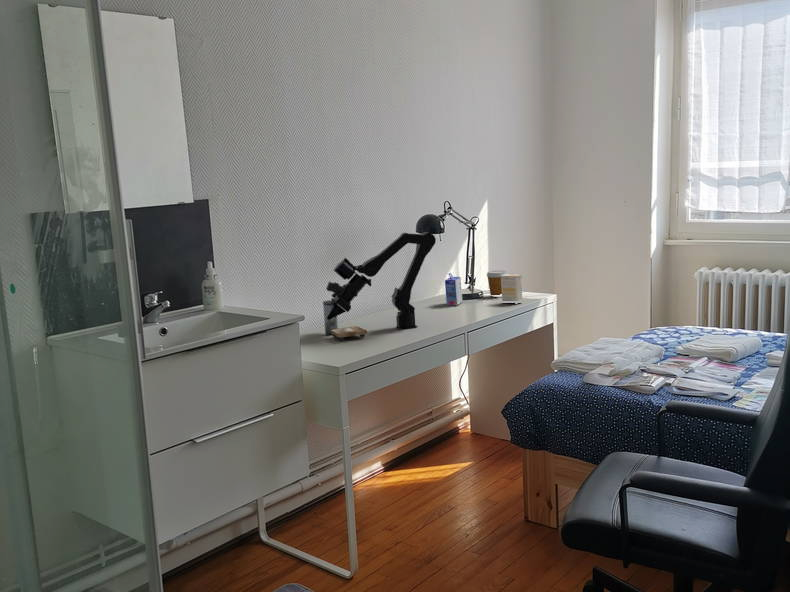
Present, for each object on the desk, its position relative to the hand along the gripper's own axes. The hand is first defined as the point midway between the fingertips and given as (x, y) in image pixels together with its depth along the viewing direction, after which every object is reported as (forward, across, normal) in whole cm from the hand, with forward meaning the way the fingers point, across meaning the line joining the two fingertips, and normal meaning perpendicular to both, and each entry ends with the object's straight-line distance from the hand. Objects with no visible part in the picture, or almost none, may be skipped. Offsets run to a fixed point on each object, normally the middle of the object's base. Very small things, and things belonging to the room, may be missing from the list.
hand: (327, 317), depth 294 cm
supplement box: (-56, -33, +66) cm, 92 cm away
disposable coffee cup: (-56, -54, +66) cm, 102 cm away
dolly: (0, +10, +10) cm, 14 cm away
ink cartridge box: (-39, -43, +49) cm, 76 cm away
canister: (+4, 0, +6) cm, 7 cm away
